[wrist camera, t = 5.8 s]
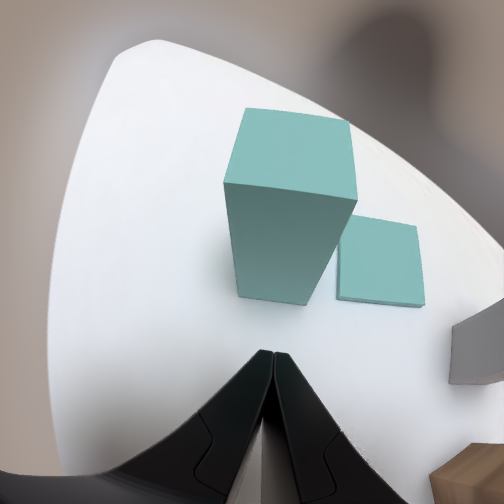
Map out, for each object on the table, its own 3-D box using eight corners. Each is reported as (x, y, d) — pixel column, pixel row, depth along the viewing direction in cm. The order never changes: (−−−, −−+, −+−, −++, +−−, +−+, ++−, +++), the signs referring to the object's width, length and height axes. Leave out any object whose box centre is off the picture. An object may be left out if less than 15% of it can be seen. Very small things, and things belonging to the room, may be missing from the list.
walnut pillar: (478, 482, 10) (580, 490, 1) (436, 514, 9) (536, 548, 1) (472, 442, 12) (585, 436, 3) (429, 474, 11) (544, 497, 2)
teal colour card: (420, 307, 17) (424, 304, 16) (337, 299, 17) (339, 296, 17) (412, 230, 19) (416, 226, 19) (338, 217, 20) (340, 212, 19)
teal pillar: (305, 305, 17) (357, 199, 8) (238, 296, 17) (223, 182, 8) (310, 246, 19) (348, 120, 10) (249, 238, 19) (245, 107, 10)
